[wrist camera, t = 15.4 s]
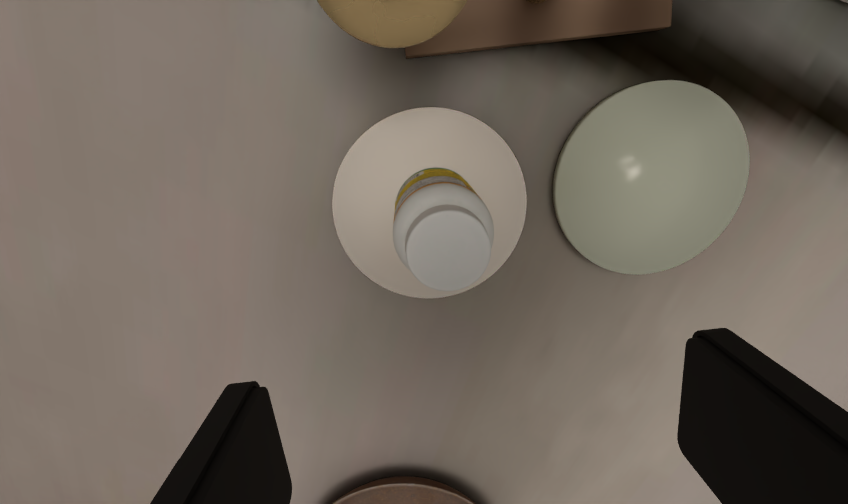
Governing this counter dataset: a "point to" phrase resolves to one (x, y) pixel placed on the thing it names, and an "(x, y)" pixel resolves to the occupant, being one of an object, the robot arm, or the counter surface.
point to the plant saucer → (404, 492)
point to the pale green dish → (651, 176)
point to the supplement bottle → (442, 229)
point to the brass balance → (490, 22)
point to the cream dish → (402, 157)
